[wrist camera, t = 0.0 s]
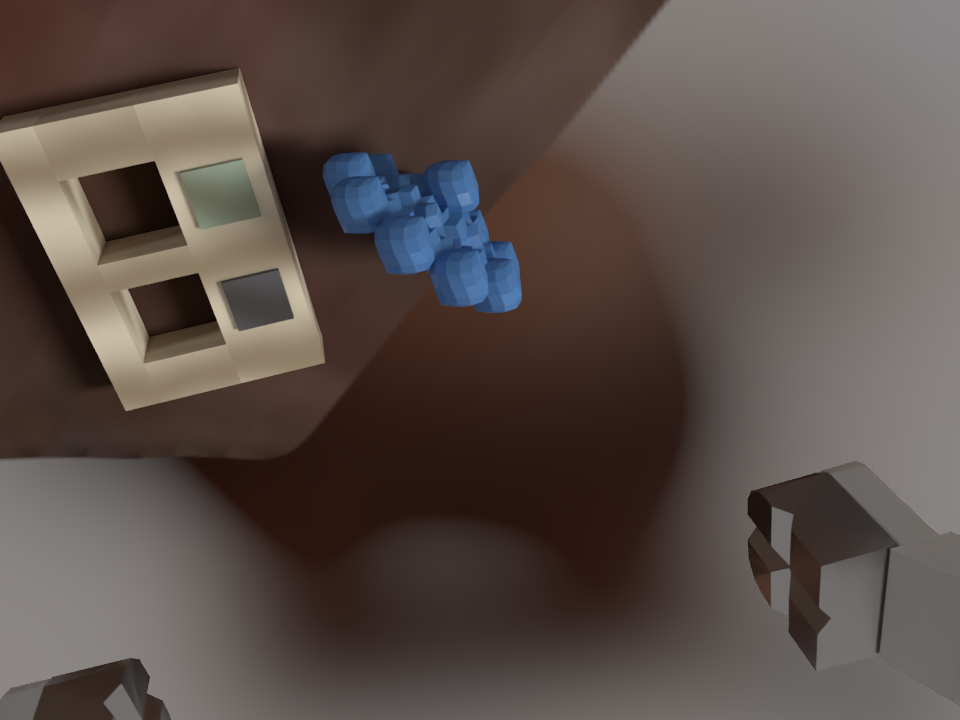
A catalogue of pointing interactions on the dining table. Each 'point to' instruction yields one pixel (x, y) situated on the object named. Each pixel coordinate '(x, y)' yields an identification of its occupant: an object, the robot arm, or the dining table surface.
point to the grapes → (426, 227)
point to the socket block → (169, 234)
